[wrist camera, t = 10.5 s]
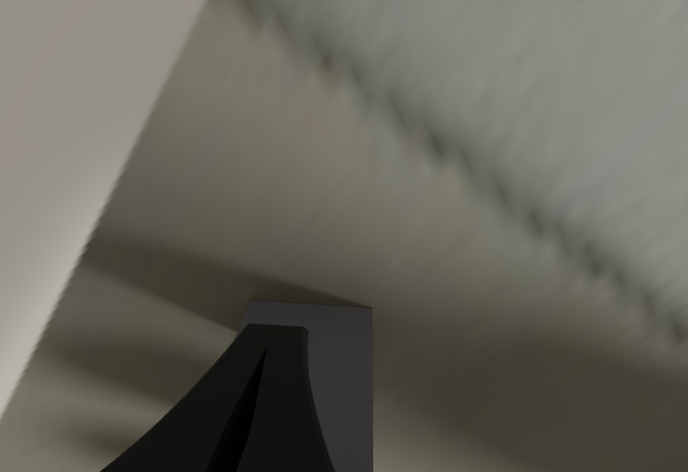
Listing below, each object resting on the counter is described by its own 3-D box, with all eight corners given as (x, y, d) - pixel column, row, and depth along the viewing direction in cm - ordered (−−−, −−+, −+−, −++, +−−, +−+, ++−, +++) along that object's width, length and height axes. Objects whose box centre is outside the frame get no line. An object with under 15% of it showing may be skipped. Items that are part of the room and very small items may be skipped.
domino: (249, 300, 20) (166, 514, 12) (371, 307, 19) (373, 529, 11) (251, 338, 20) (176, 561, 12) (368, 346, 20) (368, 576, 12)
